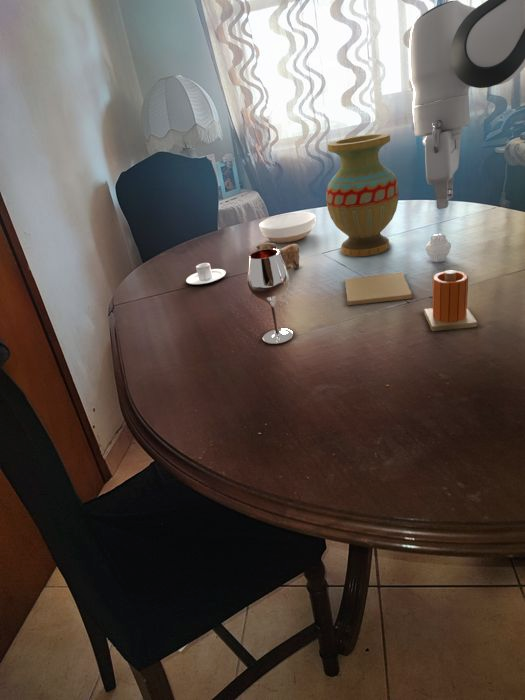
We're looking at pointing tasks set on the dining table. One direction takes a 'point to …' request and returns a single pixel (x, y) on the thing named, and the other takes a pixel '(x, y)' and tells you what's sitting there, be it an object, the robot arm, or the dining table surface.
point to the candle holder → (205, 274)
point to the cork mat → (377, 288)
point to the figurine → (285, 253)
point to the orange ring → (450, 297)
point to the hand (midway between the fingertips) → (445, 203)
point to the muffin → (438, 248)
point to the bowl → (288, 226)
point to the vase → (362, 194)
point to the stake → (439, 325)
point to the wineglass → (269, 287)
